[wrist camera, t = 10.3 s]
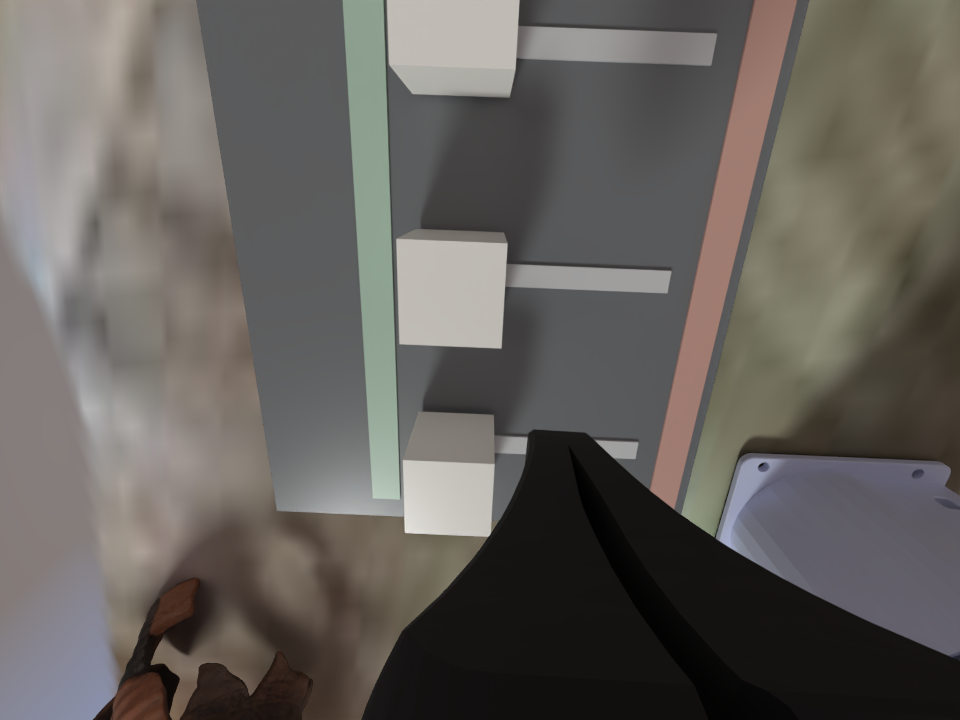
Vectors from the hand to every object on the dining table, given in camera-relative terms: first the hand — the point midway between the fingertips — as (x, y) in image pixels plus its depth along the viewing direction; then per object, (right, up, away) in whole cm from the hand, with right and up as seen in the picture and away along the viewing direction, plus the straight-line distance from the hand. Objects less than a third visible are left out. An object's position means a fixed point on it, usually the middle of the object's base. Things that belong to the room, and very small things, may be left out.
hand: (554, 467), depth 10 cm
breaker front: (-2, +12, +3) cm, 13 cm away
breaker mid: (-2, +6, +5) cm, 8 cm away
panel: (-1, +6, +7) cm, 10 cm away
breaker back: (-3, -1, +8) cm, 8 cm away
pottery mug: (-17, -14, +16) cm, 27 cm away
